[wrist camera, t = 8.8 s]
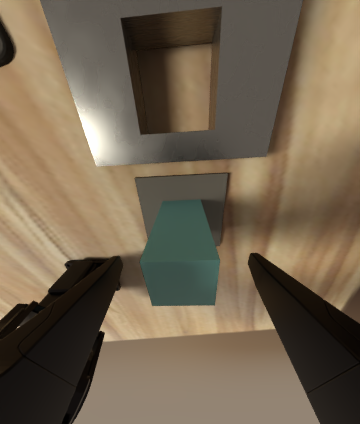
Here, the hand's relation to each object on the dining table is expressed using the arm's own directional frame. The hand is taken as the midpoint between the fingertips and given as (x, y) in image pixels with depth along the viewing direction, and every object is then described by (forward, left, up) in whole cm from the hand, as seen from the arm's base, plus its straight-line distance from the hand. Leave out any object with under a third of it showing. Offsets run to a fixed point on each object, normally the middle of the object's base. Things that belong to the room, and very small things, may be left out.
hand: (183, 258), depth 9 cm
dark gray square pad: (0, 0, -6) cm, 7 cm away
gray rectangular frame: (+10, 0, -6) cm, 12 cm away
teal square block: (0, 0, -6) cm, 6 cm away
